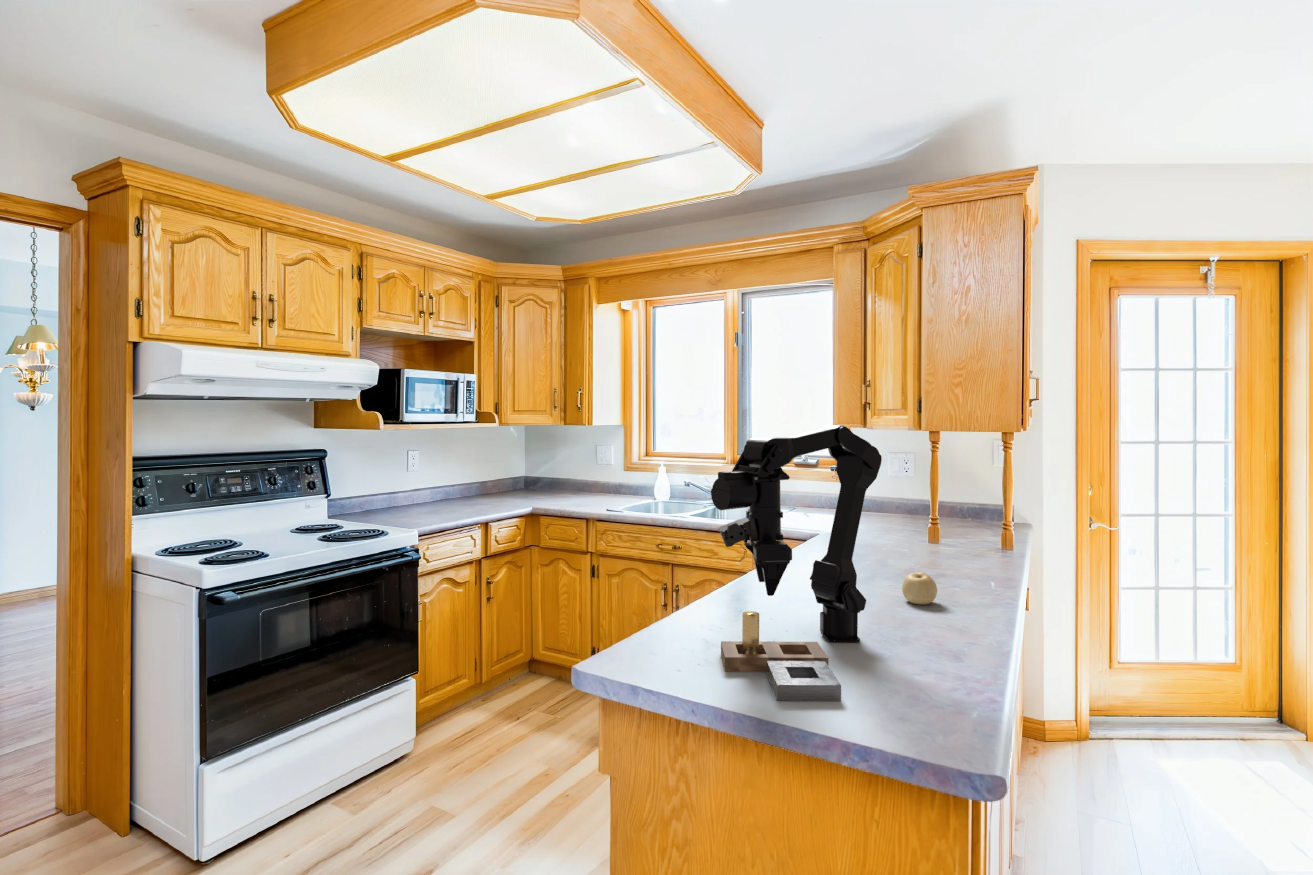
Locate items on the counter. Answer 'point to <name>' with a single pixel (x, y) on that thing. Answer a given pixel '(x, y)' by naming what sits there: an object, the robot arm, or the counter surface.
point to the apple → (919, 588)
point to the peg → (750, 632)
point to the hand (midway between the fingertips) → (765, 588)
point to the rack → (768, 655)
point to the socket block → (803, 681)
